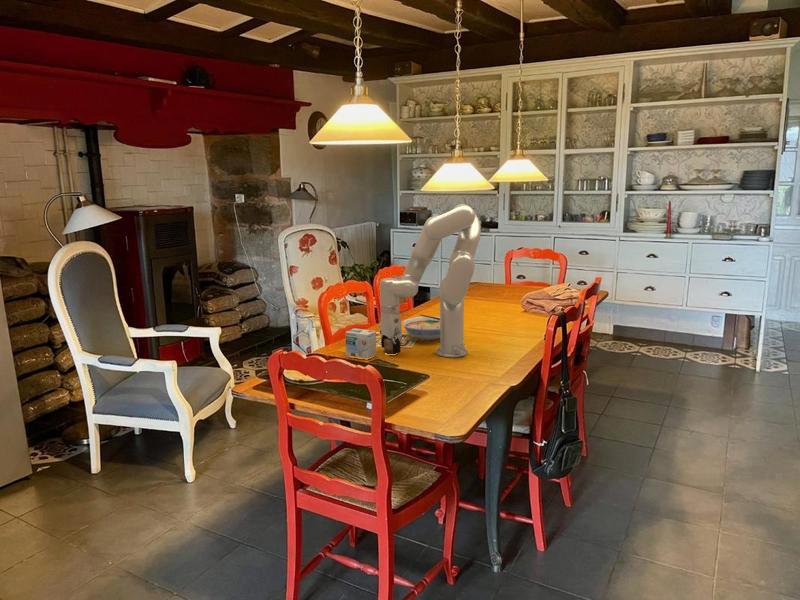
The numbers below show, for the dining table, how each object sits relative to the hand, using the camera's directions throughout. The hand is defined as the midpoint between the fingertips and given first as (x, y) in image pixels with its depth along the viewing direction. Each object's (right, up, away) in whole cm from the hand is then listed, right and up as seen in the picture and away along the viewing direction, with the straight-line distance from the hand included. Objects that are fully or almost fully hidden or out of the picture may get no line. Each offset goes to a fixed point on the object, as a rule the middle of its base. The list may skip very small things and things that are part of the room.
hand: (390, 349), depth 240 cm
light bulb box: (-12, -3, -3) cm, 12 cm away
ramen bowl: (+16, +3, +22) cm, 27 cm away
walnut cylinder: (0, -2, 0) cm, 2 cm away
